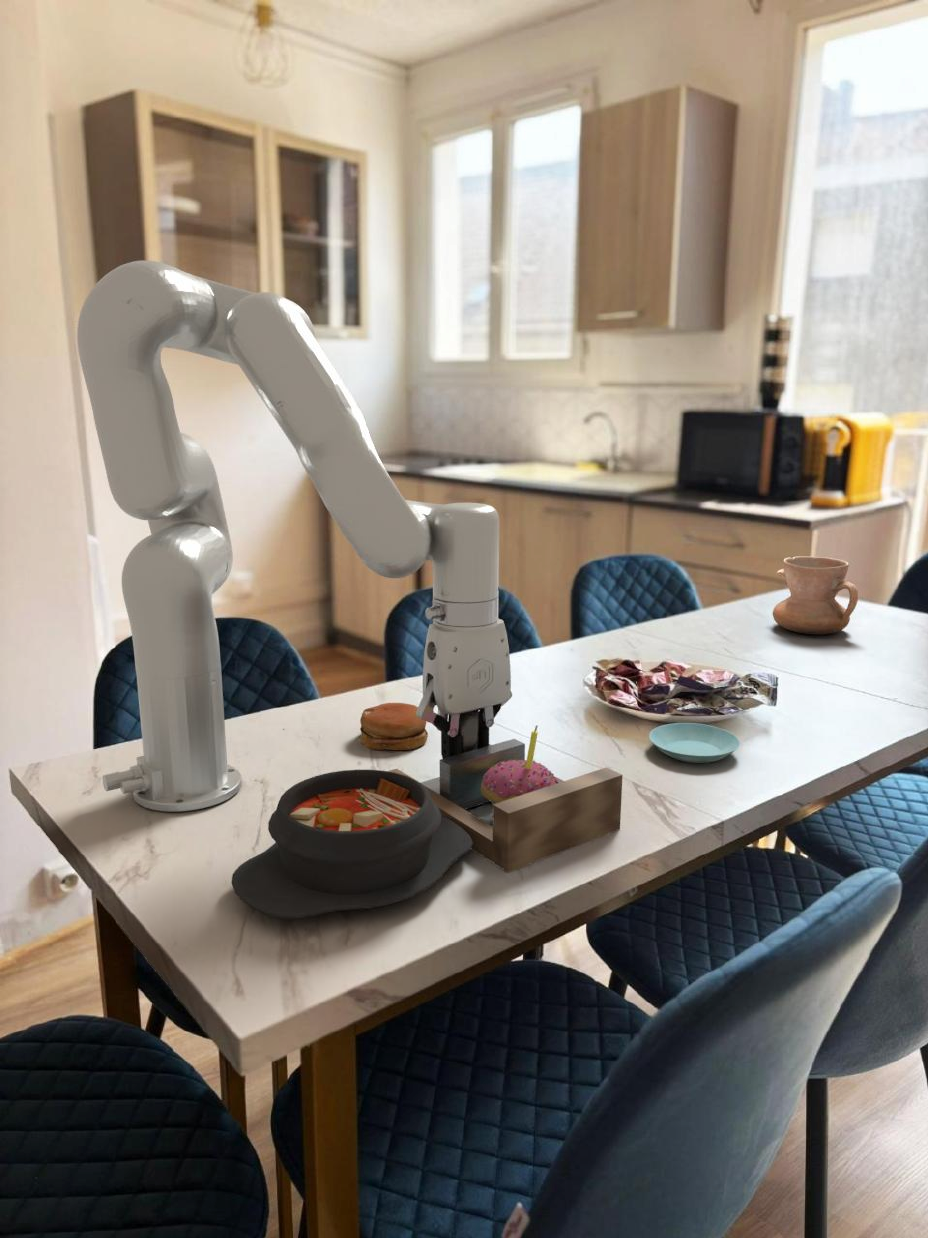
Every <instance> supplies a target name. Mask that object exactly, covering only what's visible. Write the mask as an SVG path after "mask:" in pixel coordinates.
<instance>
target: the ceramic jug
mask: <svg viewBox="0 0 928 1238" xmlns="http://www.w3.org/2000/svg"><path fill="white" fill-rule="evenodd" d="M782 564H783V565H782V566H783V567H782V569H778V571H777V572H776V575H777V576H779V577H784V578H785V579H786V584H787V587H788V590H789V593H790V596H788V597H787V598H785V599H784V600H782V601H780V602H778V603H777V604H776V605H775V606H774V608H773V609H772V618H773V620H774V621H775V623H776V624H778V625H779V626H780V627H781V628H784V629H785V630H788V631H791V632H794V633H800V634H804V635H807V634H808V635H827V634H833V633H836V632H839V631H842V630H844V629H845V628H846V627H848V625H849V622H850V620H851V615H852V613H854V610H855V609H856V606H857V604H858V600H859V592H858V591H859V590H858V589H857V587H856V585H855V584H853V583H852V582H849V581H845V579H846V576H847V573H848V570H849V565H850V564H849V562H848V561H845V560H843V559H839V558H831V557H823V556H809V555H807V556H801V555H800V556H798V555H797V556H793V557H785V558H784V559H783V562H782ZM842 590H848V593H849V602H848V604H847V606H846V608H845V607H844V606H843V605H841V604H840V603H839V602H838V601H837V600H836V597H837V595H838V593H839V592H841V591H842Z"/></svg>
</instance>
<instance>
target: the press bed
mask: <svg viewBox="0 0 928 1238" xmlns="http://www.w3.org/2000/svg"><path fill="white" fill-rule="evenodd" d="M490 745H491V744H490V743H489V746H490ZM387 771H388V772H393V773H398V774H401V775H405V776H408V777H410V778H412V779H414V780H416V779H415V778H413V777H411V776H410V775H408V774H406V773H405V772H403V771H402V770H400V769H399V768H393V769H391V770H387ZM554 777H555V778H556V780H557V779H558V781H557V782H558V783H557V784H554V785H551V786H548V787H545V788H542V789H539V790H536V791H533V792H530V793H527V794H524V795H521V796H518V797H514V798H511V799H508V800H505V801H502V802H499V803H496V804H492V825H491V824H489V823H487V822H486V821H484V820H482V818H481V819H480V818H479V817H478V816H476V815H474V814H472V813H471V812H469V811H468V810H467V809H465V810H464V809H463V808H461V807H459V806H458V805H456V804H454V803H453V802H451V801H449V800H448V799H446V798H445V797H443V796H441V795H440V794H438V793H436V792H435V791H433V790H431V789H430V788H428V787H426V786H425V785H424V786H425V787H426V789H427V790H428V791H429V793H430V796H431V799H432V801H433V802H434V803H435V804H436V805H437V807H438V808H439V810H440V813H441V816H443V817H445V818H447V819H449V820H451V821H453V822H455V823H456V824H458V825H459V826H460V827H462V828H463V829H464V830H465V831H466V832H467V833H468V834H469V835H470V837H471V839H472V842H473V844H472V848H471V850H473V851H474V852H475V853H477V854H479V855H480V856H481V857H483V858H485V859H487V861H489V862H491V864H493V865H495V866H497V867H498V868H500V869H502V870H503V871H504V872H506V873H511V872H512V871H515V870H518V869H520V868H523V867H525V866H528V865H531V864H533V863H534V864H535V863H536V862H539V861H541V860H544V859H546V858H549V857H552V856H554V855H557V854H560V853H561V852H562V853H563V852H565V851H567V850H569V849H572V848H574V847H577V846H580V845H583V844H586V843H588V842H590V841H593V840H596V839H598V838H601V837H603V836H606V835H608V833H609V834H611V833H614V832H617V831H619V830H620V829H621V816H622V814H621V813H622V795H623V794H622V793H623V774H622V773H619V772H617V771H615V770H614V769H611V768H609V767H606V766H605V767H603V768H600V769H597V770H594V771H592V772H588V773H584V774H583V775H579V776H575V777H573V778H569V779H567V780H563V779H561V778H558V777H557V776H555V775H554ZM422 785H423V784H422ZM616 830H617V831H616ZM610 832H611V833H610ZM530 863H531V864H530Z"/></svg>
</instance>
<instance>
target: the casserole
mask: <svg viewBox="0 0 928 1238" xmlns="http://www.w3.org/2000/svg"><path fill="white" fill-rule="evenodd" d="M388 771H389V770H378V769H348V770H347V769H345V770H338V771H332V772H327V773H323V774H318V775H314V776H312V777H309V778H307V779H304V780H301V781H300V782H298V783H296V784H294V785H293V786H291V787H289V788H288V789H287V790H286V791H284V793H283V794H282V795H281V796H280V799H279V800H278V803H277V806H276V808H275V810H274V812H273V813H272V814H271V816H270V818H269V820H268V826H267V830H268V832H269V835H270V837H271V839H272V840H274V841H275V842H274V844H272V845H271V846H269V847H268V848H267V849H265V851H263V852H261V853H259V854H256V856H255V855H254V856H253V857H251V858H249V859H248V860H246V861H244V862H243V863H241V864H240V865H238V867H237V868H236V869H235V870H234V871H233V873H232V875H231V885H232V888H233V892H234V893H235V895H237V897H238V899H240V901H241V902H243V903H244V904H245V905H247V906H248V907H250V908H251V909H253V910H255V911H258V912H260V913H262V914H264V915H267V916H271V917H275V918H280V919H302V918H308V917H310V918H311V917H314V916H318V915H321V914H327V913H331V912H338V911H340V912H341V911H348V910H350V911H351V910H360V909H362V910H363V909H371V908H372V909H373V908H378V907H383V906H387V905H391V904H395V903H398V902H402V901H404V900H407V899H411V898H412V897H414V896H416V895H419V894H421V893H422V892H425V891H427V890H428V889H429V888H430V887H432V886H433V885H434V884H436V883H437V882H438V881H439V880H440V879H441V878H442V877H443V876H444V874H445V873H446V872H447V871H448V869H449V868H450V867H451V866H452V865H453V864H454V863H455V862H456V861H458V860H459V859H460V858H462V857H463V856H465V855H466V854H468V853H469V852H470V851H471V850H472V849H471V848H472V844H473V842H472V839H471V837H470V835H469V834H468V833H467V832H466V831H465V830H464V829H463V828H462V827H460V826H459V825H458V824H456V823H455V822H453V821H451V820H449V819H447V818H445V817H443V816H441V813H440V810H439V808H438V807H437V805H436V804H435V803H434V802H433V801H432V799H431V796H430V793H429V791H428V790H427V789H426V787H425V786H424V785H422V784H421V782H420V781H419V780H417V779H415V778H413V777H412V778H413V779H412V778H410V777H411V776H410V777H408V776H409V775H408V776H405V775H401V774H398V773H393V772H388ZM414 779H415V780H414Z"/></svg>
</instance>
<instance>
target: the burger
mask: <svg viewBox="0 0 928 1238" xmlns="http://www.w3.org/2000/svg"><path fill="white" fill-rule="evenodd" d="M418 707H419V706H417V705H414V704H409V703H405V702H385V703H381V704H379V705H376V706H373V707H369V708H368V707H367V708H365V709H364V710H363V711H362V713H361V717H360V720H359V721H360V729H359V730H360V737H359V742H360V744H362V746H364V747H365V748H368V749H371V750H377V751H383V750H389V751H404V750H405V751H407V750H408V751H409V750H414V749H416V748H418V747H421V746H423V745H425V743H426V742H427V741H428V735H429V734H428V731H427V729H426V727H427V721H424V720H422V719H420V718H418V717H417V716H416V711H417V709H418Z"/></svg>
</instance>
